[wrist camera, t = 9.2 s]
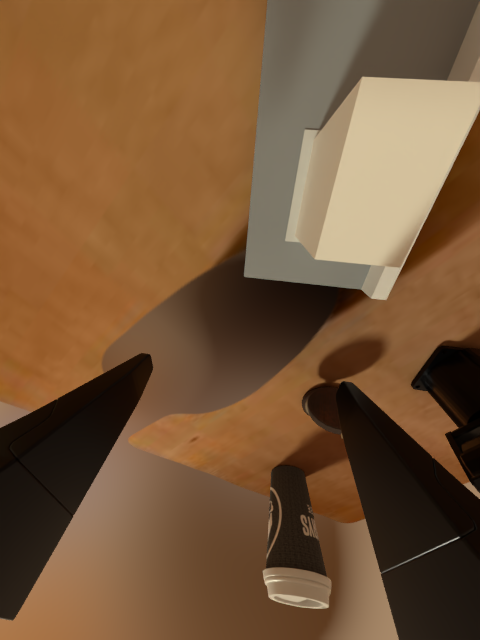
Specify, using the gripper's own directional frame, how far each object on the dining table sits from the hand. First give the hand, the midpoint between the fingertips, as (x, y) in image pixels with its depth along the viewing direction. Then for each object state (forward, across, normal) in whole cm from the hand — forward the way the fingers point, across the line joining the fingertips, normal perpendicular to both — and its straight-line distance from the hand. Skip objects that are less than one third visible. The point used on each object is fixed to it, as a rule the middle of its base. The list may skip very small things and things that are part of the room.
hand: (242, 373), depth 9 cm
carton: (+11, -5, -8) cm, 15 cm away
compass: (+13, -13, +16) cm, 24 cm away
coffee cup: (+13, -11, +39) cm, 43 cm away
